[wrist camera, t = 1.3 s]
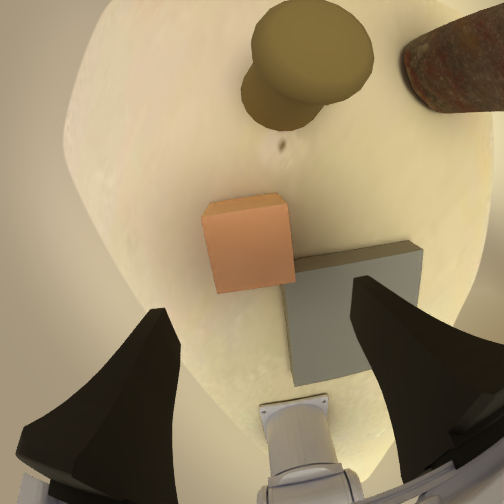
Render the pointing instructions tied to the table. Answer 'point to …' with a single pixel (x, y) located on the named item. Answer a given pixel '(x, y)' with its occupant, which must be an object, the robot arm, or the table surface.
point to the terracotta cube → (249, 242)
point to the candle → (460, 64)
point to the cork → (304, 62)
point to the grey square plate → (340, 306)
